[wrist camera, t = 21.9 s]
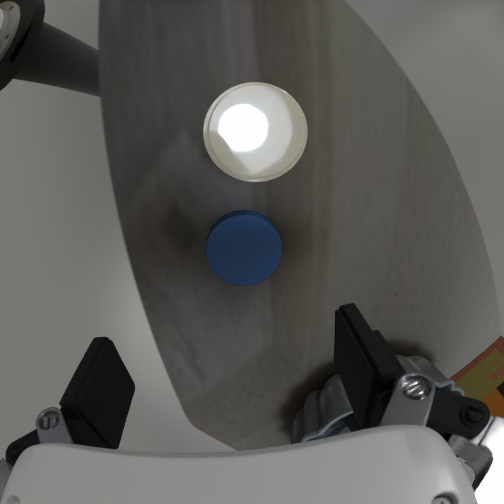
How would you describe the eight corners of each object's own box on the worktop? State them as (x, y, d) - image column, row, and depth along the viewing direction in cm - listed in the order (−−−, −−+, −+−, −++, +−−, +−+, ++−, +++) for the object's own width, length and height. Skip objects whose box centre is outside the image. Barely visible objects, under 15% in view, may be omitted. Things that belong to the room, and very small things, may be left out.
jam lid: (248, 291, 30) (248, 299, 29) (192, 250, 28) (190, 257, 27) (294, 241, 28) (298, 247, 27) (238, 194, 27) (238, 198, 25)
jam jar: (203, 156, 25) (184, 163, 16) (229, 90, 23) (225, 62, 14) (270, 181, 26) (288, 201, 17) (298, 116, 24) (329, 104, 15)
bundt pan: (240, 404, 37) (242, 463, 27) (406, 295, 32) (450, 343, 22) (328, 456, 45) (339, 497, 35) (446, 384, 40) (471, 421, 30)
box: (501, 335, 37) (559, 399, 18) (499, 361, 40) (547, 420, 21) (435, 388, 40) (484, 469, 21) (438, 408, 42) (479, 479, 24)
